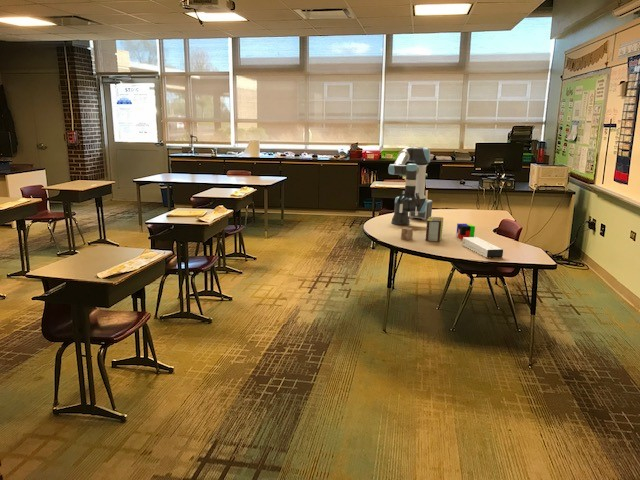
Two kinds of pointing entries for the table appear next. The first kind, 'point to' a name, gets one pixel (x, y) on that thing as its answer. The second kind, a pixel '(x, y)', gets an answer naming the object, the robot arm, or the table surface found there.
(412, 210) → the robot arm
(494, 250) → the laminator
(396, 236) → the table surface
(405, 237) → the walnut block
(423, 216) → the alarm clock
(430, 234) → the protein box
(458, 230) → the puzzle toy
